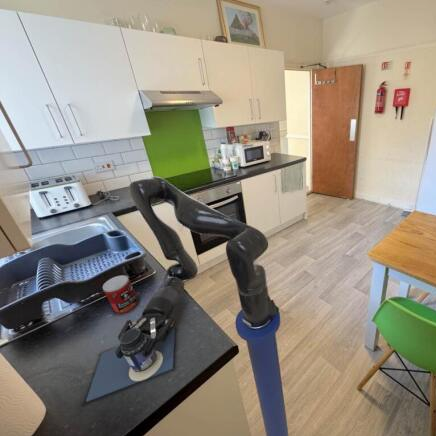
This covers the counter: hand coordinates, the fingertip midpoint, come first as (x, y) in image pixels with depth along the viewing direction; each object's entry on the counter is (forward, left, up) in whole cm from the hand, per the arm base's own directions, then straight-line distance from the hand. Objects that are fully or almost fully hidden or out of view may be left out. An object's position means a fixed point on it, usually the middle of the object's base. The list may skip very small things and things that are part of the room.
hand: (131, 355), depth 61 cm
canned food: (+9, -31, -8) cm, 33 cm away
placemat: (+2, -5, -8) cm, 10 cm away
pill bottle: (-1, -2, -7) cm, 7 cm away
